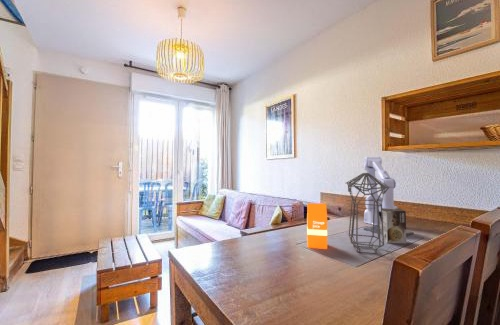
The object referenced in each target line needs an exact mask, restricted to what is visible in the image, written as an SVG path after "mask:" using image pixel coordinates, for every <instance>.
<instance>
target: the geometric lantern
mask: <svg viewBox="0 0 500 325" xmlns="http://www.w3.org/2000/svg"><path fill="white" fill-rule="evenodd" d="M368 176H369V177H370V178H371V179H372V180H373V179H374V180H375V181H376V182H375V181H374V180H373V181H374V182H375V183H373V184H371V183H370V180H369V177H368ZM361 179H362V182H361V183H359V182H360V181H361ZM368 181H369V182H368ZM345 184H347V192H349V195H350V197H351V198H350V201H351V203H350V204H351V205H350V216H349V227H348V238H349V241H350V244H352V245H353V246H352V247H353V249H354V251H356V253H360V254H361V253H362V254H375V255H376V254H378V249H380V248H382V247H384V246H385V241H384V233H383V212H382V203H381V204H380V203H379V202H378V200H379V198H380V197H381V198H382V202H383V197H382V194H383V196H384V194H385V193H386V191H387V190H388V189H389V188H390V187H388V186H387V185H386V186H387V187H386V186H385V184H384V183H383V184H384V185H383V184H382V182H381V181H380V180H379V178H378V177H376V178H375V177H374V176H372V175H371V174H369V173H367V172H362V173H361V174H359V175H357V176H355V177H354V178H351V179H350V180H348V181H347V182H346V181H345ZM375 184H376V185H377V188H373V187H375V186H376V185H375ZM366 185H367V186H366ZM369 185H370V187H371V188H369ZM371 185H374V186H373V187H372V186H371ZM378 185H379V186H380V187H378ZM352 188H355V189H356V190H358V192H357V194H356V196H355V197H354V195H353V192H352ZM382 188H383V189H382ZM386 188H387V189H386ZM371 189H377V191H376V192H374V193H372V190H371ZM385 189H386V190H385ZM369 190H371V193H370V192H369ZM383 190H384V193H383ZM365 192H368V193H365ZM360 193H362V194H363V195H362V197H361V198H360V199H359V200H358V201H357V197H358V195H359V194H360ZM369 193H370V194H369ZM375 193H379V194H378V195H379V197H378V199H377V201H376V200H375V198H374V196H373V194H375ZM369 195H371V196H372V197H373V199H374V200H375V201H374V200H365V199H363V198H364V197H365V196H369ZM361 201H363V202H366V201H374V208H373V224H372V226H373V232H372V235H367V234H365V235H364V234H358V231H359V229H358V228H359V224H358V222H359V218H358V214H359V207H358V206H359V205H361V206H362V205H363V206H365V205H373V204H365V203H360V202H361ZM375 202H376V204H377V205H375ZM378 203H379V204H380V205H378ZM375 206H377V222H378V225H377V226H378V233H377V236H375V233H374V226H375V225H374V216H375ZM379 206H381V221H382V222H381V223H382V234H380V222H379ZM355 216H356V217H355ZM355 220H356V221H355ZM355 222H356V223H355ZM355 225H356V226H355ZM354 228H355V229H354ZM354 230H356V231H355V233H356V234H355V233H354ZM354 236H355V238H354ZM358 236H359V237H365V238H367V237H368V238H371V239H370V241H369V242H367V241H358V240H359V239H358V238H359V237H358ZM373 238H375V240H374V241H372V240H373ZM355 239H356V240H355ZM376 241H378V245H377V244H374V243H376ZM361 249H362V250H363V249H364V250H373V251H374V252H369V251H361Z"/></svg>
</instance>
